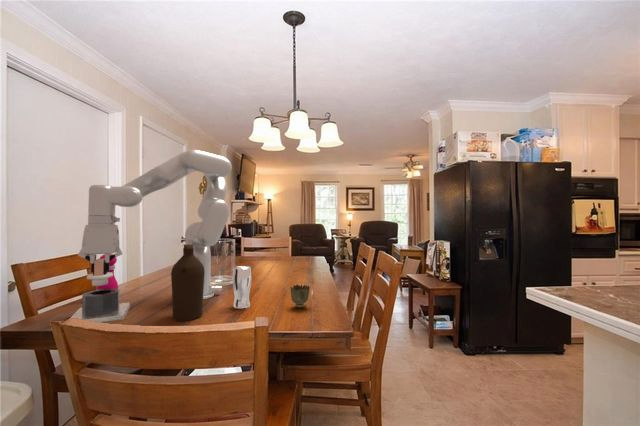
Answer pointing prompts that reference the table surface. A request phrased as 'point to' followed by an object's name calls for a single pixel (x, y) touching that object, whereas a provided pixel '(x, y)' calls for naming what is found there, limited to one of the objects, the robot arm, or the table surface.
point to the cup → (299, 295)
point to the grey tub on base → (102, 306)
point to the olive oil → (187, 286)
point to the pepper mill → (111, 281)
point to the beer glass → (241, 286)
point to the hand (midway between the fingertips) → (100, 273)
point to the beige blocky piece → (99, 274)
